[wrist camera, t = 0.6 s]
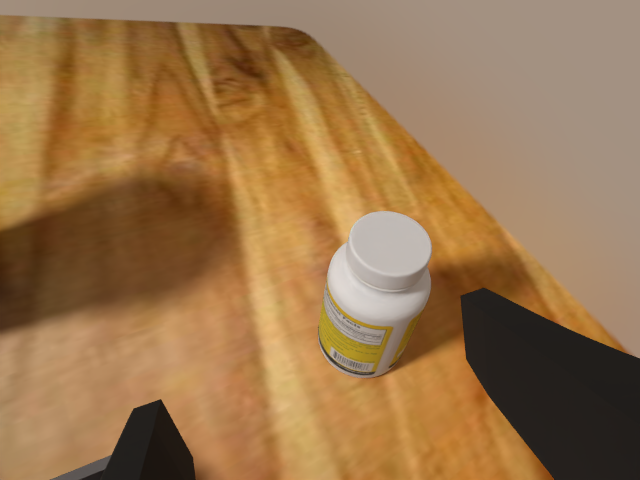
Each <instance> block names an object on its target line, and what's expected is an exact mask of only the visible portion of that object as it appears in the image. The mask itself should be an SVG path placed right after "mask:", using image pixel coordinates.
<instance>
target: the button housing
mask: <svg viewBox="0 0 640 480" xmlns="http://www.w3.org/2000/svg"><path fill="white" fill-rule="evenodd" d="M110 457H111V455H110V456H108V457H105V458H103V459H100V460H98V461H95V462H93V463H90V464H88V465H85V466H83V467H81V468H78V469H76V470H73V471H71V472H68V473H66V474H63V475H61V476H58V477H56V478H53V479H51V480H100V478H101V476H102V474H103V472H104V470H105V468H106V466H107V464H108V462H109V460H110Z"/></svg>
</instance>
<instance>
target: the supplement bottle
mask: <svg viewBox="0 0 640 480" xmlns="http://www.w3.org/2000/svg"><path fill="white" fill-rule="evenodd" d="M431 254H432V244H431V240H430V238H429V236H428V234H427V232H426V231H425V230H424V228H423V227H422V226H421V225H420V224H419V223H417V222H416V221H415V220H413V219H411V218H410V217H408V216H405V215H403V214H400V213H396V212H390V211H379V212H373V213H369V214H367V215H365V216H363V217H361V218H360V219H359V220H358V221H357V222H356V223H355V224H354V225H353V227H352V229H351V231H350V235H349V239H348V242H346V243H345V244H343V245H342V246H341V247H340V248H339V249H338V250H337V251H336V253H335V254H334V256H333V258H332V260H331V262H330V266H329V269H328V274H327V279H326V285H325V291H324V297H323V303H322V309H321V315H320V320H319V327H318V340H319V345H320V348H321V350H322V353H323V354H324V356H325V358H326V359H327V360H328V362H329V363H330V364H331V365H332V366H334V367H335V368H336V369H337V370H339V371H340V372H342V373H344V374H347V375H349V376H352V377H357V378H371V377H376V376H379V375H382V374H384V373H386V372H387V371H389V370H390V369H391V368H392V367H393V366H394V365H395V364H396V363H397V362H398V360H399V359H400V357H401V355H402V353H403V351H404V349H405V347H406V345H407V343H408V341H409V339H410V337H411V335H412V333H413V331H414V328H415V326H416V324H417V322H418V320H419V318H420V316H421V314H422V312H423V310H424V308H425V305H426V303H427V301H428V298H429V295H430V290H431V278H430V273H429V270H428V268H427V266H428V263H429V260H430V258H431Z"/></svg>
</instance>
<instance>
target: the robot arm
mask: <svg viewBox="0 0 640 480" xmlns="http://www.w3.org/2000/svg"><path fill="white" fill-rule="evenodd" d="M461 307H462V318H463V329H464V340H465V351H466V359H467V361H468V363H469V364H470V366H471V368H472V369H473V371H474V373H475V375H476V376H477V378H478V380H479V381H480V383H481V384H482V386H483V388H484V389H485V391H486V392H487V394H488V395H489V397H490V398H491V399H492V401H493V402H494V403H495V405H496V406H497V407H498V408H499V410H500V411H501V412H502V413H503V415H504V416H505V417H506V419H507V420H508V421H509V422H510V424H511V425H512V426H513V427H514V429H515V430H516V431H517V432H518V434H519V435H520V436H521V438H522V439H523V440H524V441H525V443H526V444H527V445H528V446H529V448H530V449H531V450H532V451H533V453H534V454H535V455H536V456H537V458H538V459H539V460H540V461H541V463H542V464H543V465H544V466H545V468H546V469H547V470H548V471H549V473H550V474H551V475H552V477H553V478H554V479H555V480H640V358H637V357H634V356H632V355H629V354H626V353H624V352H621V351H619V350H616V349H614V348H611V347H609V346H607V345H604V344H602V343H599V342H597V341H594V340H592V339H590V338H587V337H585V336H583V335H581V334H578V333H576V332H574V331H572V330H569V329H567V328H565V327H563V326H561V325H559V324H557V323H554V322H552V321H550V320H548V319H546V318H544V317H542V316H540V315H538V314H536V313H534V312H532V311H530V310H528V309H526V308H524V307H522V306H520V305H518V304H516V303H514V302H512V301H510V300H508V299H506V298H504V297H502V296H500V295H498V294H496V293H494V292H492V291H490V290H488V289H486V288H482V289H479V290H476V291H473V292H470V293H467V294H465V295H462V296H461ZM100 480H196V479H195V471H194V463H193V457H192V455H191V453H190V451H189V450H188V448H187V446H186V444H185V442H184V440H183V439H182V437H181V435H180V433H179V431H178V429H177V428H176V426H175V424H174V422H173V420H172V418H171V417H170V415H169V413H168V411H167V409H166V407H165V406H164V404H163V402H162V400H161V399H160V400H157V401H155V402H152V403H149V404H146V405H143V406H140V407H137V408H134V409H133V411H132V413H131V415H130V417H129V419H128V421H127V423H126V425H125V427H124V429H123V432H122V434H121V436H120V438H119V440H118V442H117V445H116V447H115V449H114V451H113V453H112V455H111V457H110V460H109V462H108V464H107V466H106V468H105V470H104V472H103V474H102V476H101V478H100Z"/></svg>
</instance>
